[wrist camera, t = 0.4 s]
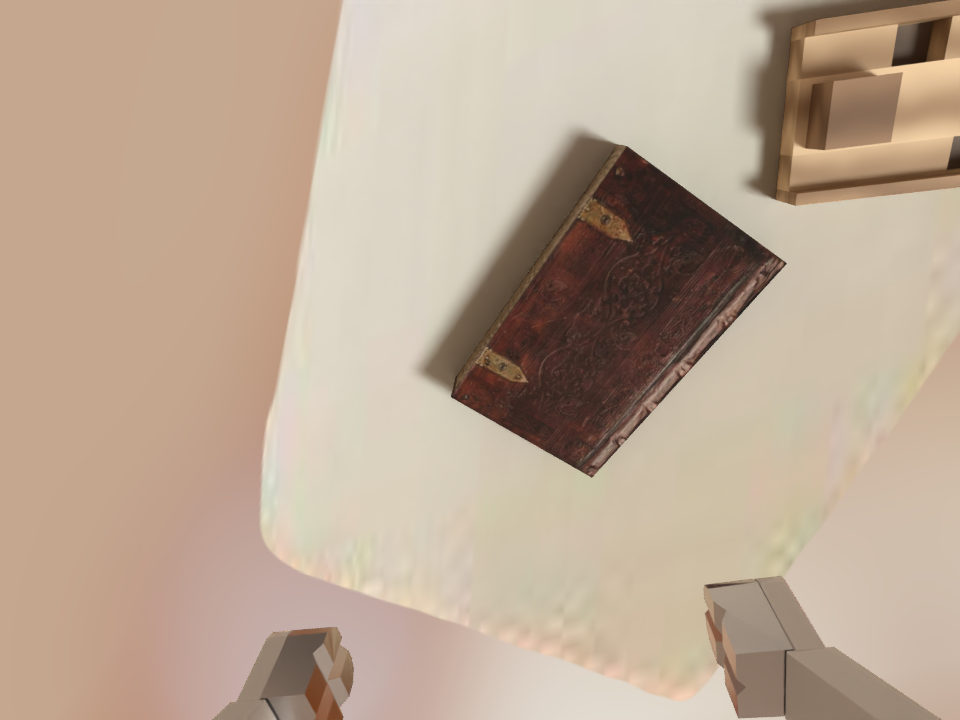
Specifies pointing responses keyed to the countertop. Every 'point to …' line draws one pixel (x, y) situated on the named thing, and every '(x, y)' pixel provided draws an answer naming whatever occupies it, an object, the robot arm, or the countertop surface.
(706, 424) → the countertop surface
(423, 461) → the countertop surface
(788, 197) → the box
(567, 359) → the hardback book
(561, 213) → the countertop surface
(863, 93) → the block
